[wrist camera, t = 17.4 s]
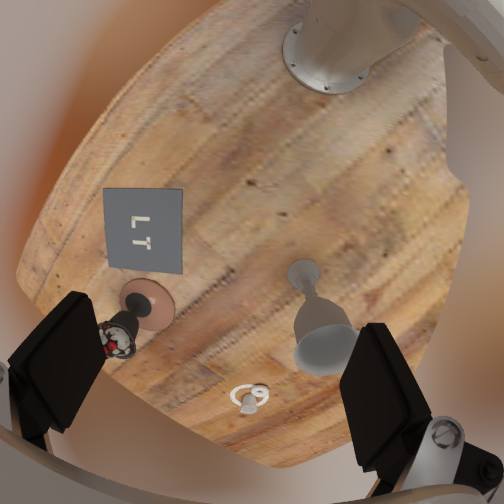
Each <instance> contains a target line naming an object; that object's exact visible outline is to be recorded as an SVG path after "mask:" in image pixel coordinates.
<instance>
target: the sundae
mask: <svg viewBox="0 0 504 504" xmlns="http://www.w3.org/2000/svg"><path fill="white" fill-rule="evenodd" d="M125 304H126V307H127V309H128V311H125V310H123V311H120V312H118V313H117V314H116V315H115V316H114V317H112V318H111V319H110V320H109V321H105V322H102V323H99V324H98V329H99V333H100V336H101V340H102V343H103V347H104V350H105V353H106V359H108V358H114V357H117V358H119V359H127V358H130V357H132V356H133V355H134V354H135V353H136V345H135V338H136V335H137V333H138V329H139V321H138V319H137V317H140V318H144V317H147V316H148V315H149V314H150V313H151V309H152V307H151V304H150V302H149V300H148V299H147V298H146V297H145V296H144V295H142V294H140V293H130V294H129V295H127V297H126V299H125Z"/></svg>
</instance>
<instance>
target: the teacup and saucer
mask: <svg viewBox="0 0 504 504" xmlns="http://www.w3.org/2000/svg"><path fill="white" fill-rule="evenodd" d="M246 387H252V388H251V393H252V394H250V393H249V394H246V395H245V396H244V398H243V401H242V403H240V402H238V401H237V400H236V399H235V393H236V392H237V391H238V390H239V389H242V388H246ZM259 391H262V392H259ZM268 394H269V389H268V388H267V387H266V386H263V385H252V384H245V385H240V386H238V387H236V388H234V389H233V390H232V391H231V393H230V398H231V400H232V401H233V402H234V403H235V404H237V405H239V406H240V408H239V411H240V412H244V413H246V414H253V413H255V412H256V411H257V406H260V405H262V404H264V403H265V402H266V401H267V400H268V397H269V395H268ZM255 396H256V397H264V398H263V400H262V401H261V402H259V403H257V401H256V397H255ZM241 410H242V411H241Z"/></svg>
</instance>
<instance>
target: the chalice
mask: <svg viewBox="0 0 504 504" xmlns="http://www.w3.org/2000/svg"><path fill="white" fill-rule="evenodd" d="M319 274H320V271H319V267H318V266H317V264H316V263H314V262H313V261H311V260H308V259H301V260H297V261H296V262H294V263H293V264H292V265H291V266H290V267H289V269H288V271H287V278H288V281H289V283H290V284H291V285H292V286H293V287H295V288H297V289H299V290H302V291H303V293H304V294H306V295H305V298H306V301H305V302H304V304H303V305H302V306H301V308H300V309H299V311H298V313H297V316H296V318H295V322H294V331H295V337H296V342H297V346H296V348H295V352H294V359H295V362H296V365H297V366H298V367H299V368H300V369H301V370H303V371H305V372H307V373H309V374H312V375H317V376H327V375H333V374H337V373H340V372H342V371H344V370H345V368H346V366H347V363H348V361H349V359H350V356H351V354H352V351H353V349H354V346H355V344H356V341H357V338H358V336H359V333H360V332H359V331H357V330H356V329H354V328H353V327H352V325H351V323H350V321H349V319H348V317H347V315H346V313H345V312H344V310H343V309H342V308H341V307H339V306H338V305H336V304H335V303H333V302H332V301H330V300H327V299H324V298H321V297H318V296H317V293H316V292H315V285H316V283H317V281H318V278H319Z"/></svg>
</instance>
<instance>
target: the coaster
mask: <svg viewBox="0 0 504 504" xmlns="http://www.w3.org/2000/svg"><path fill="white" fill-rule="evenodd" d="M130 293H140V294H142V295H144V296H145V297H146V298H147V299H148V300H149V302H150V304H151V307H152V309H151V313H150V314H149V315H148V316H147V317H144V318H140V317H137V319H138V321H139V328H141V329H144V330H148V331H160V330H163V329H165V328H166V327H168V326H169V325H170V324H171V322H172V320H173V318H174V315H175V304H174V301H173V299H172V297H171V295H170V294H169V292H168V291H167V290H166V289H165V288H164V287H163V286H162V285H160V284H159V283H157V282H155V281H152V280H149V279H144V278H140V279H134V280H132V281H130V282H129V283H127V284H126V285H125V287H124V288H123V289H122V291H121V294H120V306H121V309H122V311H123V310H125V311H128V309H127V307H126V304H125V299H126V297H127V295H129V294H130Z"/></svg>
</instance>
